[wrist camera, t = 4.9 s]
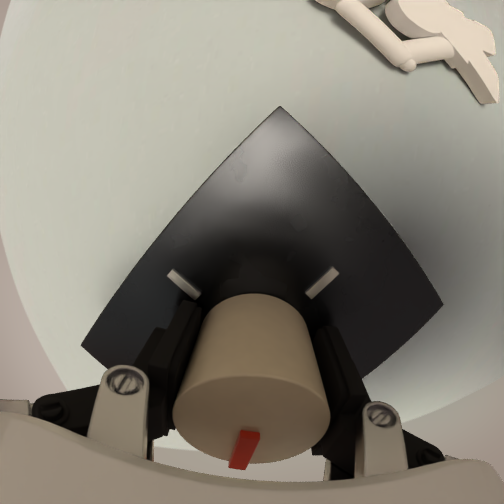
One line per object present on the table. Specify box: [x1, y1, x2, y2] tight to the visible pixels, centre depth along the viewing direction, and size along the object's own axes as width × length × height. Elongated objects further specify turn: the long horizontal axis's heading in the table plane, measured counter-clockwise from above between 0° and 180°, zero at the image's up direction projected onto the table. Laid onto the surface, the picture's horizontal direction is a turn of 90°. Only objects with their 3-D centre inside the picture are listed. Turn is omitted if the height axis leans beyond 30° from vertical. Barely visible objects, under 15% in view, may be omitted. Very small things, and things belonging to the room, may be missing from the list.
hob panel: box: [81, 106, 444, 379], centre depth 12 cm, size 14×11×3 cm
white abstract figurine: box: [315, 0, 499, 104], centre depth 8 cm, size 9×12×2 cm
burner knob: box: [172, 294, 330, 470], centre depth 8 cm, size 4×4×5 cm
